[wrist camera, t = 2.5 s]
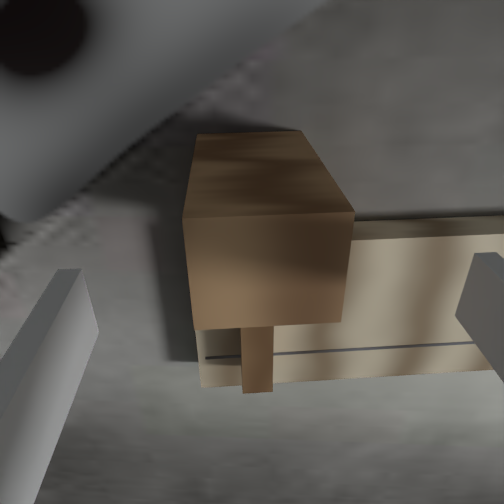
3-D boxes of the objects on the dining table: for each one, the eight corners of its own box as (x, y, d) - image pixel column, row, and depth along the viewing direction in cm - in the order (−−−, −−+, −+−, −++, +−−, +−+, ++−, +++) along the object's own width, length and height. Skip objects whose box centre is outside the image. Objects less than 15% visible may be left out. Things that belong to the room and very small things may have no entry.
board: (202, 362, 33) (201, 388, 30) (188, 228, 26) (186, 248, 24) (564, 341, 34) (588, 364, 32) (631, 210, 28) (665, 227, 26)
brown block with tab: (213, 342, 32) (211, 485, 22) (197, 133, 23) (182, 218, 14) (290, 338, 32) (321, 477, 22) (301, 130, 24) (355, 211, 14)
